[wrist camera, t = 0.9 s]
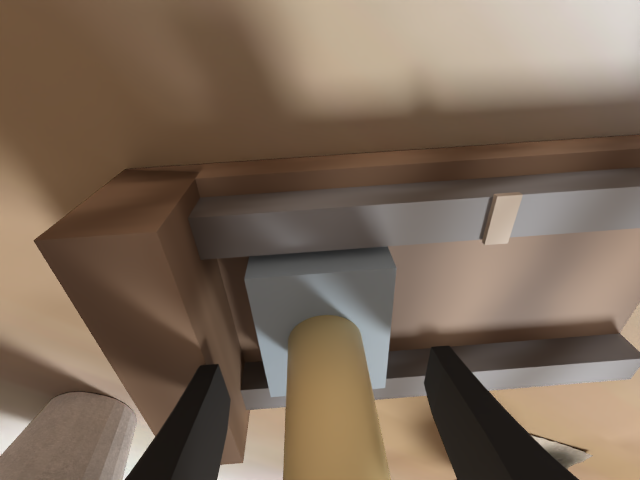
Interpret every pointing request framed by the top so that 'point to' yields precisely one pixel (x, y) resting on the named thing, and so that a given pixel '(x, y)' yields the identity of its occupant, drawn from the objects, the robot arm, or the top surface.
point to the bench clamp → (365, 232)
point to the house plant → (73, 441)
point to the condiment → (563, 452)
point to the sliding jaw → (326, 355)
